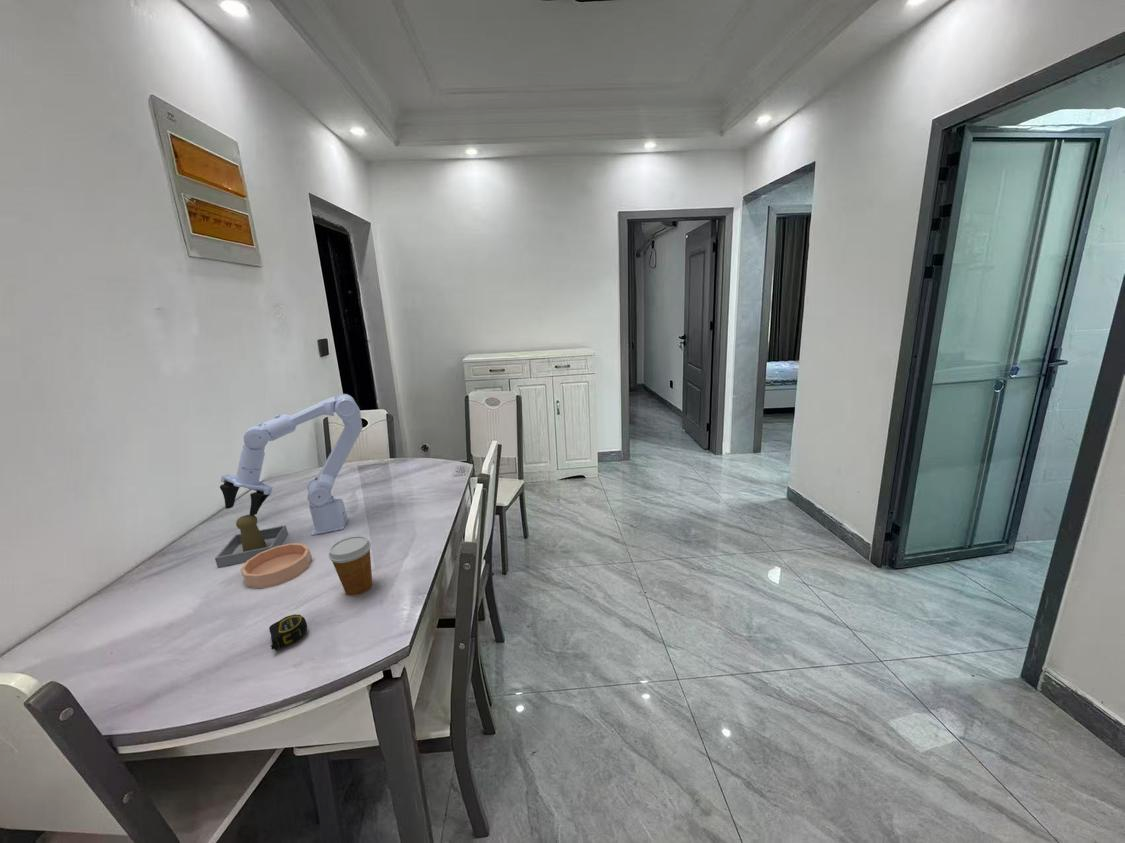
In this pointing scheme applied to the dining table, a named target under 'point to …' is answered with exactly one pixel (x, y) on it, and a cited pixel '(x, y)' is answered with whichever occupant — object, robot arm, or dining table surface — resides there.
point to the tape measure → (287, 631)
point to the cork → (250, 533)
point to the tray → (228, 558)
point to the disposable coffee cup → (352, 564)
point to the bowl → (276, 565)
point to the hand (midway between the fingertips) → (241, 511)
